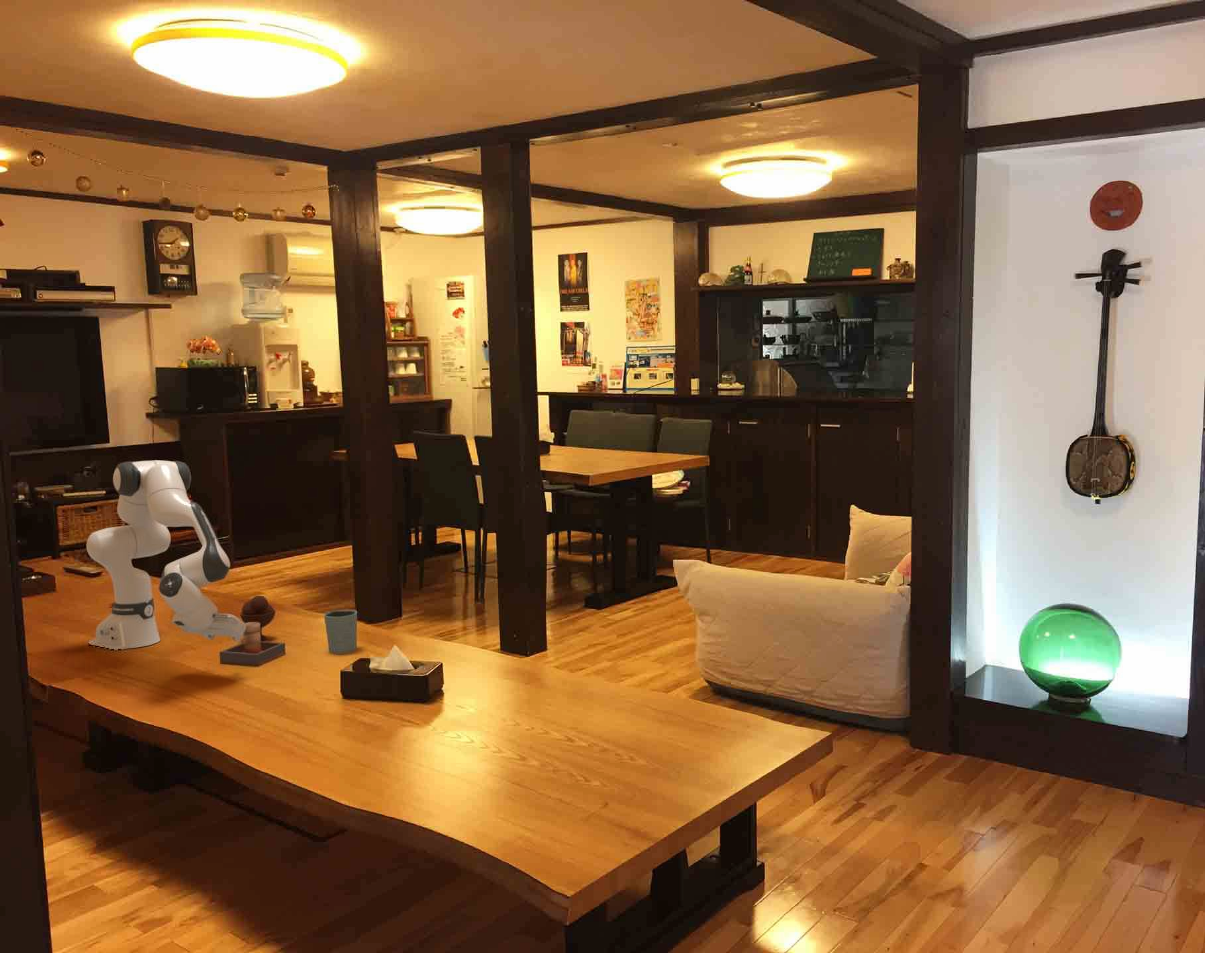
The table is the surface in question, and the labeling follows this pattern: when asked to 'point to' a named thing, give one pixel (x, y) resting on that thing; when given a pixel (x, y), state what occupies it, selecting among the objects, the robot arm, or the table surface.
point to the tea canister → (252, 638)
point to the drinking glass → (341, 631)
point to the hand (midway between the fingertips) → (225, 638)
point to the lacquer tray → (240, 658)
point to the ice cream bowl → (258, 613)
